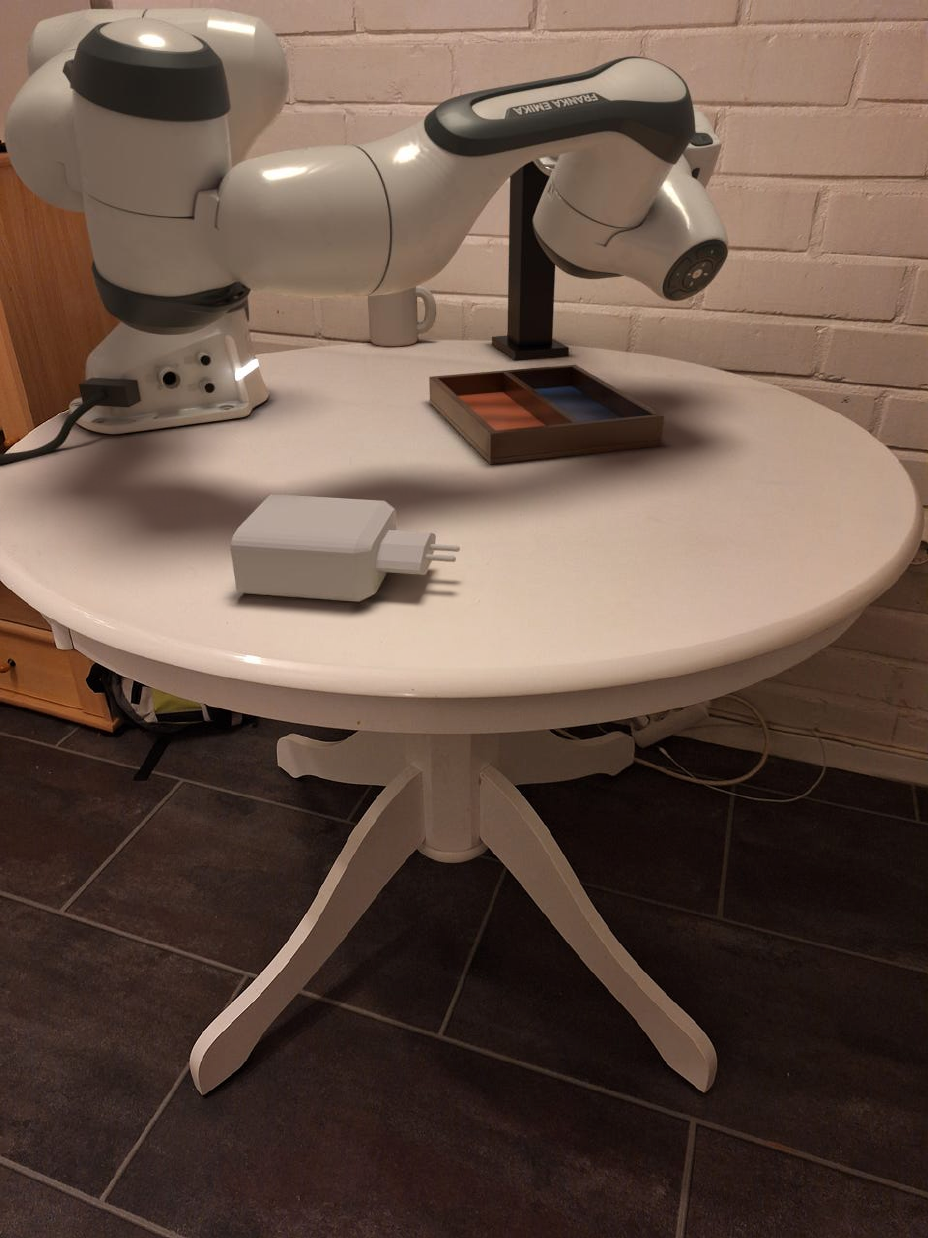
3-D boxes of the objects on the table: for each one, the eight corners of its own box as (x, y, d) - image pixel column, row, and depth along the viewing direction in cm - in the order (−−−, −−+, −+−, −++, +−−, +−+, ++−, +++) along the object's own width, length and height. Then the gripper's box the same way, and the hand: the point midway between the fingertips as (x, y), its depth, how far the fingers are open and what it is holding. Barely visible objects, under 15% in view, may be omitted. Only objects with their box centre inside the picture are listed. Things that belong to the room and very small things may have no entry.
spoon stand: (568, 355, 127) (579, 146, 114) (514, 360, 125) (519, 147, 112) (542, 341, 135) (549, 144, 123) (491, 344, 133) (493, 145, 121)
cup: (374, 335, 139) (371, 274, 135) (439, 336, 138) (438, 274, 134) (366, 346, 133) (362, 282, 128) (434, 347, 132) (432, 282, 128)
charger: (446, 615, 62) (236, 599, 64) (468, 557, 70) (281, 545, 72) (445, 551, 59) (228, 537, 62) (467, 499, 67) (274, 488, 70)
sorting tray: (661, 445, 93) (664, 415, 91) (490, 464, 88) (490, 433, 86) (574, 389, 112) (575, 364, 110) (429, 402, 107) (429, 376, 105)
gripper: (537, 203, 93) (500, 126, 100) (713, 197, 98) (667, 124, 105) (550, 144, 88) (510, 66, 94) (736, 141, 93) (686, 67, 100)
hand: (594, 96), depth 100 cm, fingers closed
